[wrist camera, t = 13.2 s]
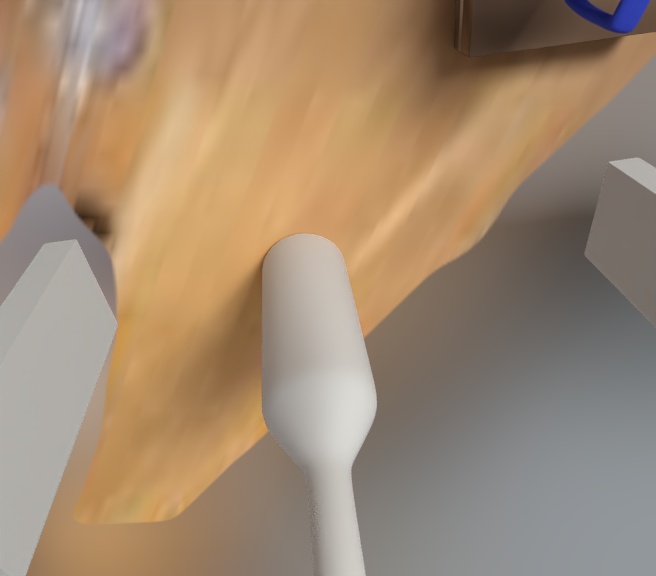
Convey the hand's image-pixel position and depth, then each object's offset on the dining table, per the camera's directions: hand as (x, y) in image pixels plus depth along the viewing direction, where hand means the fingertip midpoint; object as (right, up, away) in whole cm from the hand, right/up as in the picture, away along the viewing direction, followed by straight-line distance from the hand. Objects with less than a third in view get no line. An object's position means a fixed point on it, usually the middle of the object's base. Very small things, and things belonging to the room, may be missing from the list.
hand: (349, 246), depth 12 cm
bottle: (-3, +1, +35) cm, 35 cm away
